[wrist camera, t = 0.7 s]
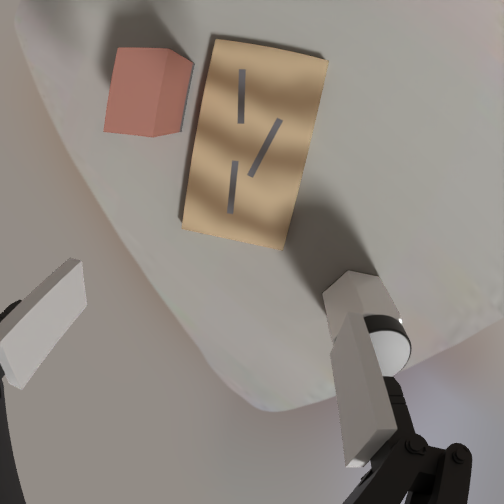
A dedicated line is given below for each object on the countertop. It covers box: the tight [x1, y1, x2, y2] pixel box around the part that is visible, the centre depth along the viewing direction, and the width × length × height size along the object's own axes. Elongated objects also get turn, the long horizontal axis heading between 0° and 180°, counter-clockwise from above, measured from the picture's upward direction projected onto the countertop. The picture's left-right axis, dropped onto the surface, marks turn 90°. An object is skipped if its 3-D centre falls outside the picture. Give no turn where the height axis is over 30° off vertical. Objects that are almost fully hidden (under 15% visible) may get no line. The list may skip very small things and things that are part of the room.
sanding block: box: [104, 47, 195, 137], centre depth 27 cm, size 8×5×9 cm, turn 168°
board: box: [182, 39, 329, 251], centre depth 33 cm, size 22×12×1 cm, turn 168°
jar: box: [322, 271, 411, 377], centre depth 35 cm, size 9×8×12 cm
